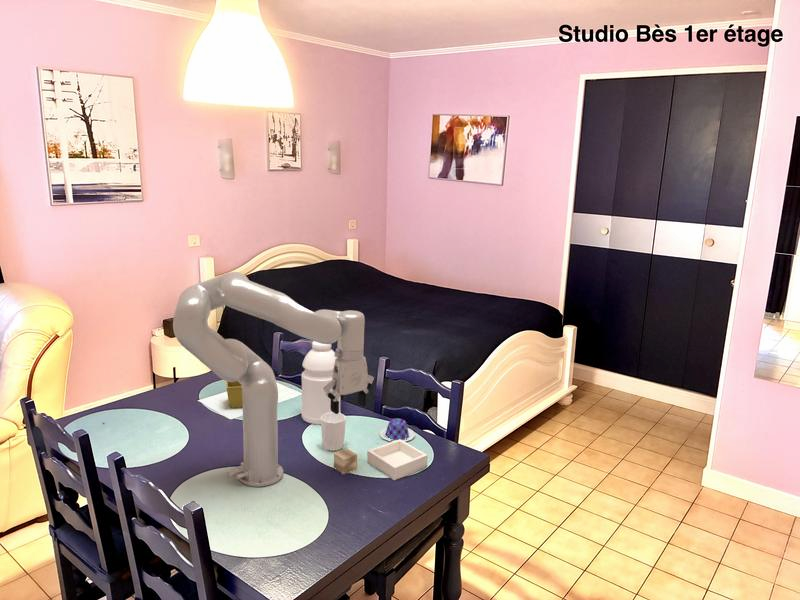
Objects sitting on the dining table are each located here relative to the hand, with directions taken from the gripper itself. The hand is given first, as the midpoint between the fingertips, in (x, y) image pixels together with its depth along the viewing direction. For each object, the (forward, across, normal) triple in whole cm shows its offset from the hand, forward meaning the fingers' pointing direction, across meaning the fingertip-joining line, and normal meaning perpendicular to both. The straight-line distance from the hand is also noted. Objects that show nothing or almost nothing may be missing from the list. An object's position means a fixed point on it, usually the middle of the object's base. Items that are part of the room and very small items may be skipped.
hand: (348, 408), depth 175 cm
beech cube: (+19, -1, -1) cm, 19 cm away
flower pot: (+19, -6, +60) cm, 63 cm away
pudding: (+19, +26, +7) cm, 33 cm away
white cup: (+19, +4, +13) cm, 23 cm away
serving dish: (+18, +13, -8) cm, 24 cm away
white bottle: (+19, +13, +34) cm, 41 cm away
